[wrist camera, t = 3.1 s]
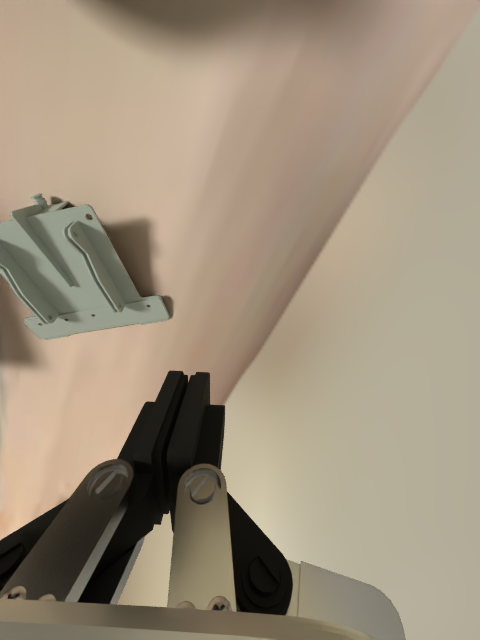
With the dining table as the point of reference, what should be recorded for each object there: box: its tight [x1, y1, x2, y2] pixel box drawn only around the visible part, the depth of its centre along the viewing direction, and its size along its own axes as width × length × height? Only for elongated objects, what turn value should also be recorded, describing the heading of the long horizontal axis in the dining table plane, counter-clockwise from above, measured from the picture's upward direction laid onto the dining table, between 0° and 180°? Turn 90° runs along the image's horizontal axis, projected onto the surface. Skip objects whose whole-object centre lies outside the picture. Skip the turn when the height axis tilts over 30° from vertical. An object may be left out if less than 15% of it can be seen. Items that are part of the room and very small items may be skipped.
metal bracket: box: [0, 194, 170, 340], centre depth 26 cm, size 14×6×15 cm
